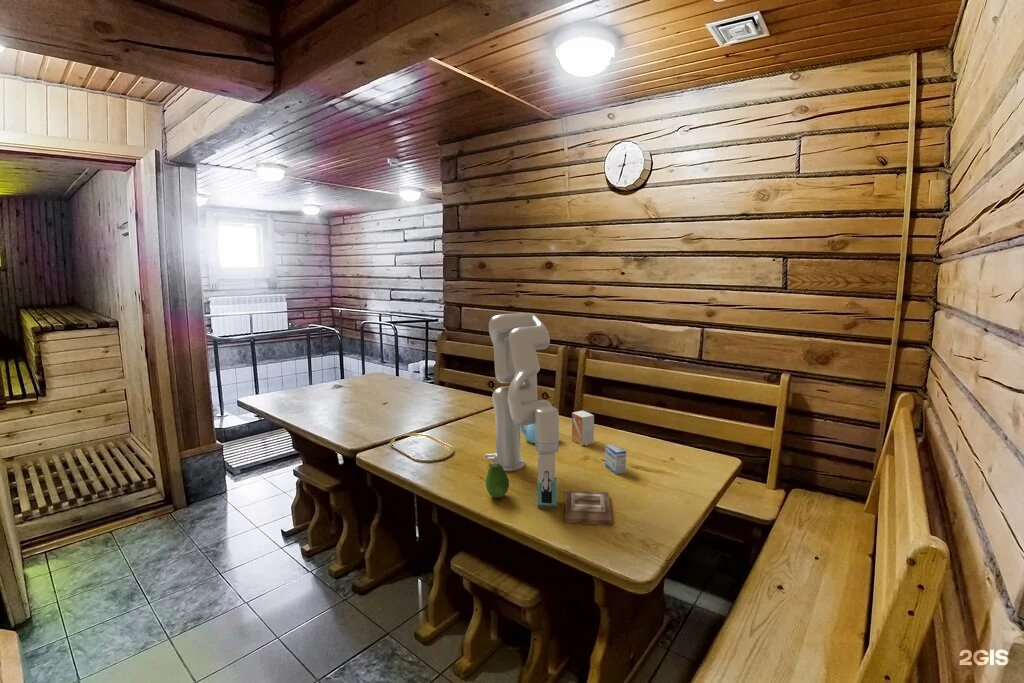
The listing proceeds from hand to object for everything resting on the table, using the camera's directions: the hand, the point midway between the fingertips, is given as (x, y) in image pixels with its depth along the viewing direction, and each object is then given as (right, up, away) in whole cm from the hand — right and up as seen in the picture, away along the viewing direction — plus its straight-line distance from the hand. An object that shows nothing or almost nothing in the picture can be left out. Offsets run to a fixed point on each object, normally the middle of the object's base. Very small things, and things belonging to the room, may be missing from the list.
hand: (547, 495), depth 157 cm
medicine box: (+28, +1, +27) cm, 39 cm away
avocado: (-16, -3, +7) cm, 18 cm away
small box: (+19, +6, +55) cm, 59 cm away
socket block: (+13, -4, -2) cm, 13 cm away
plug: (0, -4, +1) cm, 4 cm away
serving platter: (-51, +3, +52) cm, 72 cm away
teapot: (0, +6, +59) cm, 59 cm away
